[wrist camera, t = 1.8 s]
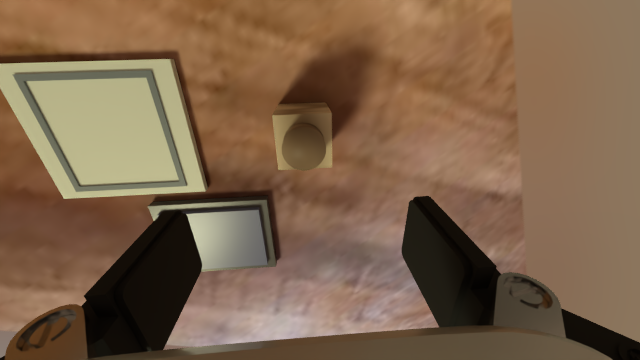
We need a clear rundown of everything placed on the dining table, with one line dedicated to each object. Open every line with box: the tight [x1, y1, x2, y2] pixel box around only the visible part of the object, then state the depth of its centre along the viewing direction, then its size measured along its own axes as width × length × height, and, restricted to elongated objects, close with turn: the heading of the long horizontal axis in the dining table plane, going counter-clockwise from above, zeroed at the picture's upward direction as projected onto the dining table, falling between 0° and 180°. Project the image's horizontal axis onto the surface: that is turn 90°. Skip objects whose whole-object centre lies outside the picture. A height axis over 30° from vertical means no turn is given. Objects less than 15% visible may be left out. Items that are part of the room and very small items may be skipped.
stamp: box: [272, 102, 332, 171], centre depth 23 cm, size 5×5×8 cm
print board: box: [0, 59, 208, 199], centre depth 25 cm, size 16×14×1 cm
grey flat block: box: [148, 196, 277, 271], centre depth 32 cm, size 14×11×2 cm
